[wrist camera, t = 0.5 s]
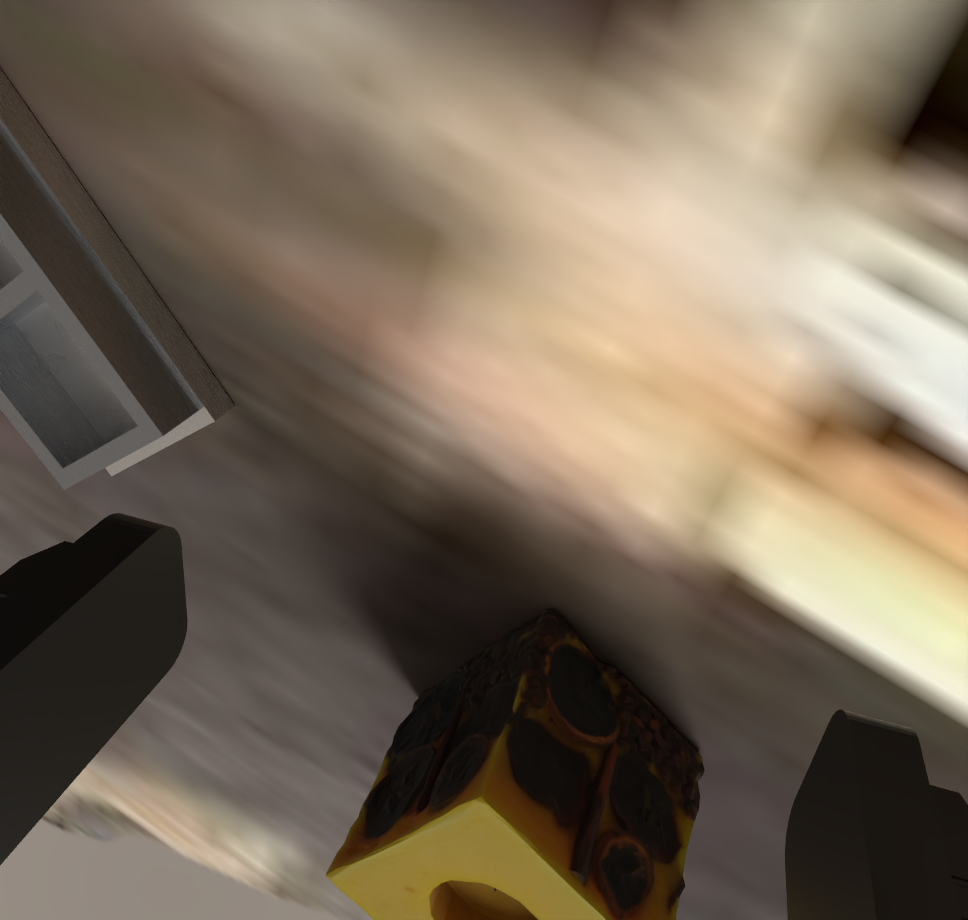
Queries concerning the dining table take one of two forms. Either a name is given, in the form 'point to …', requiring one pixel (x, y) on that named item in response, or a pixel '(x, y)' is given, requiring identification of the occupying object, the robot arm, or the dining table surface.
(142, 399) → the gray compartment block tray
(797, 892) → the robot arm
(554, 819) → the candle
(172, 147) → the dining table surface
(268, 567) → the dining table surface
